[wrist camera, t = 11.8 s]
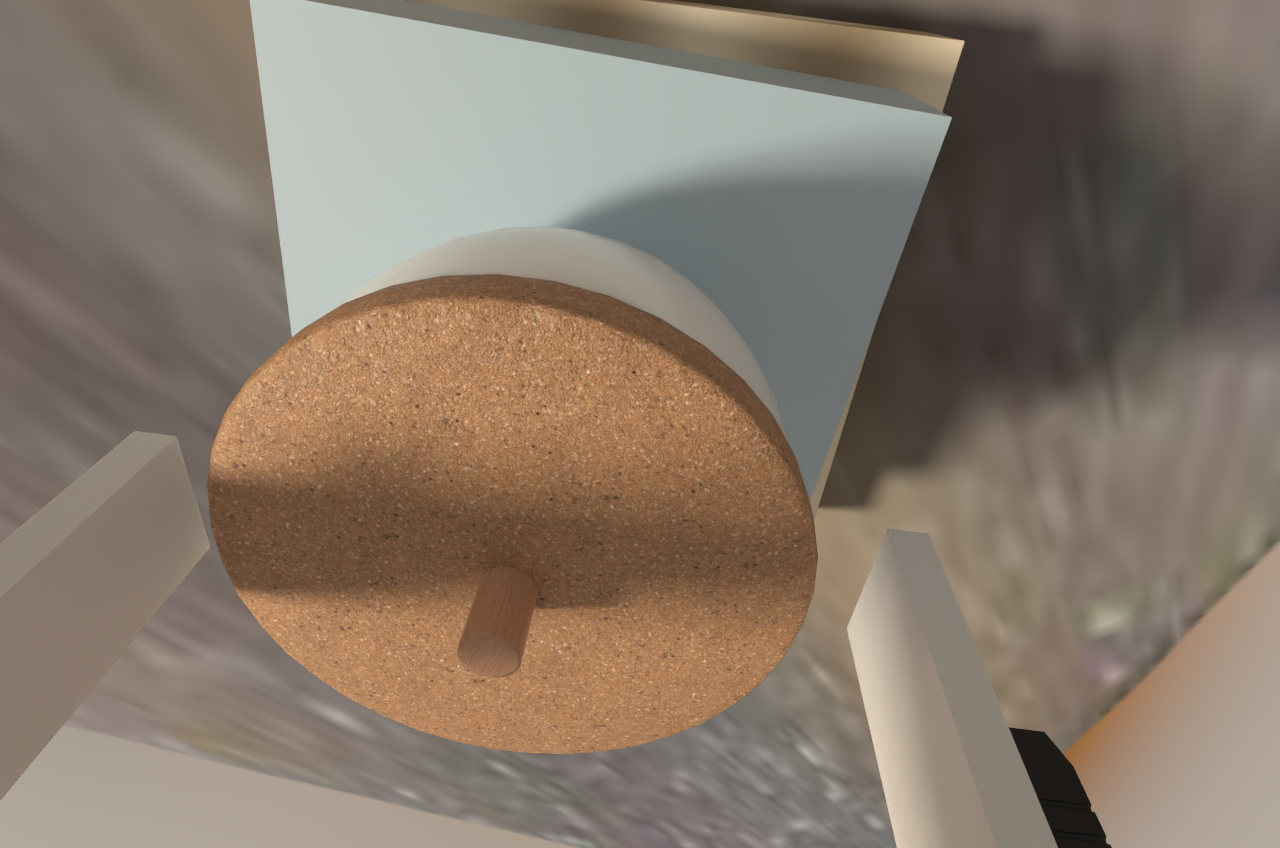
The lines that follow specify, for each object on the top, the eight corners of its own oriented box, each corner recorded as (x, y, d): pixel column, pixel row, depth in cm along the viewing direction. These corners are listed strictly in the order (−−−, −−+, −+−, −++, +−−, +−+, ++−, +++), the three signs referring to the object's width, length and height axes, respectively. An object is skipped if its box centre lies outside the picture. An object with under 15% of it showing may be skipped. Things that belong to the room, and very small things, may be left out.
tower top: (903, 91, 18) (952, 117, 15) (762, 521, 27) (773, 600, 23) (330, -13, 18) (248, -11, 15) (363, 459, 26) (316, 531, 23)
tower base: (920, 30, 21) (964, 40, 18) (788, 496, 31) (801, 560, 28) (322, -45, 21) (253, -49, 18) (379, 448, 31) (342, 506, 27)
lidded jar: (327, 429, 20) (103, 717, 13) (454, 71, 15) (199, 182, 7) (649, 571, 23) (629, 888, 15) (858, 303, 17) (999, 578, 10)
